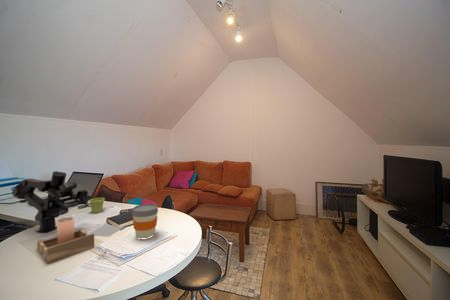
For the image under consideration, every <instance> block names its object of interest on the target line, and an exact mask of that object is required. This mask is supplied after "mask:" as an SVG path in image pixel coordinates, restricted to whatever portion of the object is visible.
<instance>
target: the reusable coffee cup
mask: <svg viewBox="0 0 450 300" xmlns="http://www.w3.org/2000/svg"><path fill="white" fill-rule="evenodd" d="M158 212H159V208H158V205H157V204H155V203H145V204H143V203H142V204H138V205H136V206H134V207H133V208H132V212H131V215H132V224H133V229H134V231H135V232H134V233H135V238H136V237H137V238H140V239H141V238H148V237H150V236H152V235H154V236H155V234H154V233H156V226H157V224H158ZM137 238H136V239H137Z"/></svg>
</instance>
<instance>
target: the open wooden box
mask: <svg viewBox="0 0 450 300" xmlns="http://www.w3.org/2000/svg"><path fill="white" fill-rule="evenodd" d="M36 243H37V251H38V252H39V253H40V255H41V257H42V258H43V259H44V260H45V262H46V263H47V265H50V264H52V263H55V262H58V261H60V260H64V259H66V258H69V257H71V256H74V255H77V254H81V253H83V252H85V251H88V250H91V249H93V248H95V236H94V234H90V235H89V233H87V232H86V231H85V230H83V229H82V228H78V230H74V240H71V241H68V242H65V243H62V244H59V245H57V236H55V237H51V238H48V239H44V240H41V239H39V240H37V242H36Z"/></svg>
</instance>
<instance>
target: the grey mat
mask: <svg viewBox="0 0 450 300" xmlns="http://www.w3.org/2000/svg"><path fill="white" fill-rule="evenodd" d="M122 226H123V227H119V228H118V227H115V226H113V224H103V225H101V226H100V227H97V228H96V229H94V230H93V231H91V232H89V233H88V234H89V235H90V234H94V237H95V236H96V237H106V238H107V237H108V238H109V237H111V236H113V235H114V234H116V233H117V232H118V231H122V230H124V229H125V228H126V225H122Z"/></svg>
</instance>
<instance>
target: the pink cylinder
mask: <svg viewBox="0 0 450 300" xmlns="http://www.w3.org/2000/svg"><path fill="white" fill-rule="evenodd" d="M56 227H57V228H56V233H57V236H56V237H57V245H59V244H62V243H65V242H68V241H71V240H74V232H75V217H73V216H69V217H63V218H60V219H58V220H56Z"/></svg>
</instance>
